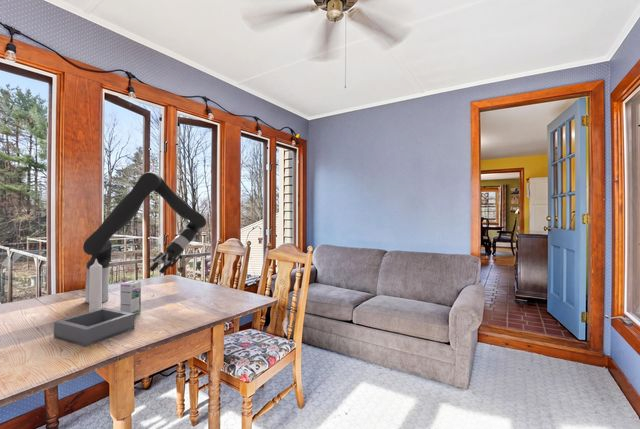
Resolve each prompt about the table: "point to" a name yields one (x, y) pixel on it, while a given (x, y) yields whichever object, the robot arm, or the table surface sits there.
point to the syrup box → (130, 297)
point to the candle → (95, 287)
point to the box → (93, 326)
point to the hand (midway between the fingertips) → (155, 271)
